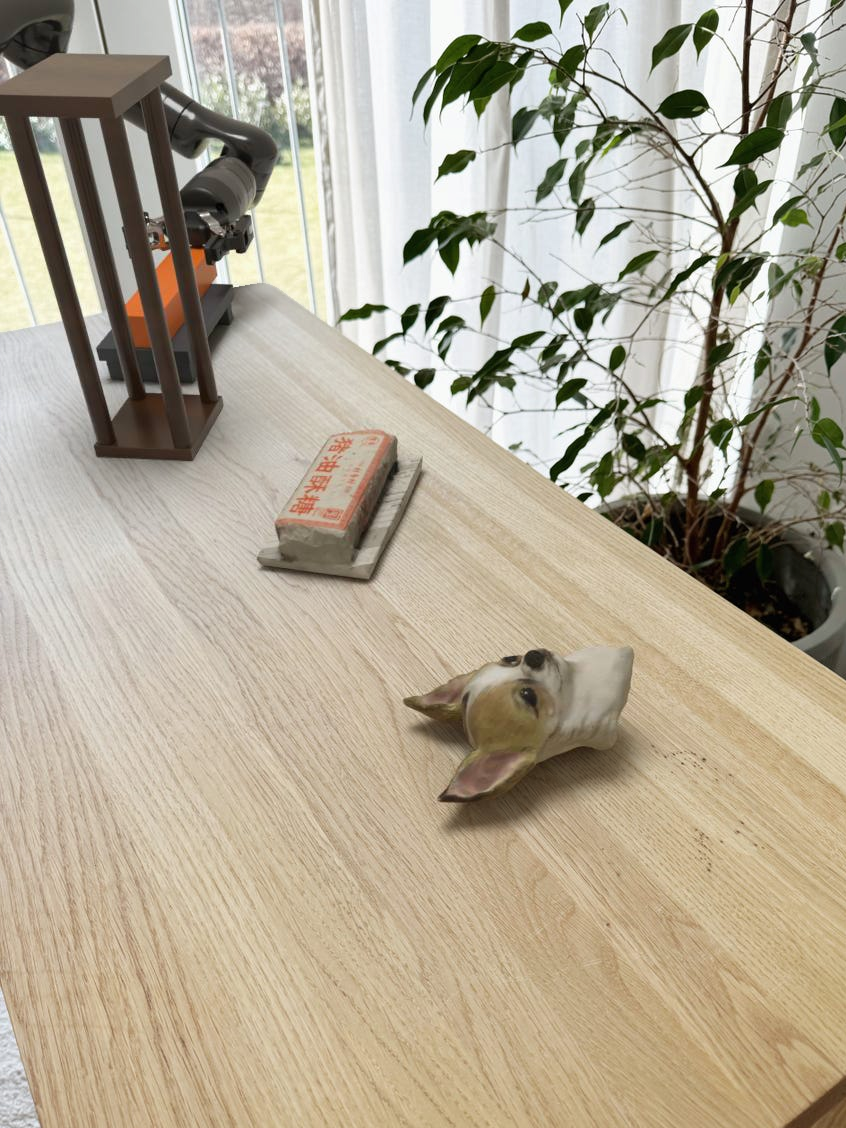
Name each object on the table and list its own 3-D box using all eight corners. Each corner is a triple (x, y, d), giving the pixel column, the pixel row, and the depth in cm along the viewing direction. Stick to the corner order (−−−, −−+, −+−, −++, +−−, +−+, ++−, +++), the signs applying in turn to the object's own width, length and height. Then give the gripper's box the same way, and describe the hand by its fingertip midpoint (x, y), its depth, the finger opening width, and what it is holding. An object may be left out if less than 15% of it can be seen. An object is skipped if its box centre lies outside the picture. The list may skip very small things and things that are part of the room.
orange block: (181, 274, 122) (175, 245, 119) (217, 275, 121) (212, 246, 119) (123, 347, 107) (115, 315, 104) (164, 348, 106) (157, 316, 104)
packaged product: (367, 535, 79) (248, 521, 81) (372, 584, 83) (257, 569, 84) (423, 424, 93) (319, 413, 94) (425, 469, 96) (325, 458, 97)
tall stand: (139, 392, 107) (55, 52, 86) (230, 396, 107) (169, 55, 86) (90, 461, 97) (-19, 94, 76) (191, 466, 96) (110, 97, 75)
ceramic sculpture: (669, 683, 61) (431, 746, 58) (660, 776, 67) (444, 837, 64) (603, 581, 69) (390, 632, 66) (600, 672, 74) (405, 722, 72)
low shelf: (158, 313, 123) (150, 281, 120) (238, 316, 122) (233, 284, 119) (104, 382, 109) (95, 347, 106) (194, 386, 109) (187, 351, 106)
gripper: (271, 239, 127) (238, 290, 115) (161, 236, 128) (116, 286, 116) (263, 176, 122) (227, 223, 110) (148, 173, 123) (100, 219, 111)
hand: (170, 255), depth 113 cm, fingers open, 8 cm apart
